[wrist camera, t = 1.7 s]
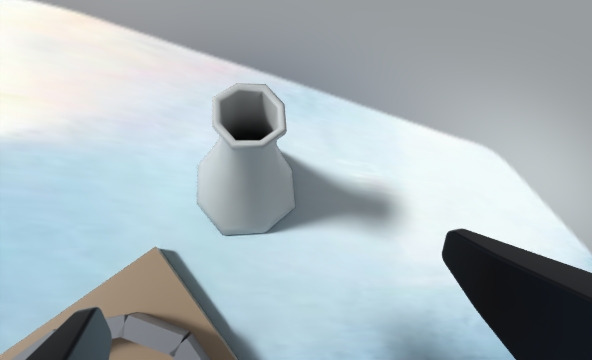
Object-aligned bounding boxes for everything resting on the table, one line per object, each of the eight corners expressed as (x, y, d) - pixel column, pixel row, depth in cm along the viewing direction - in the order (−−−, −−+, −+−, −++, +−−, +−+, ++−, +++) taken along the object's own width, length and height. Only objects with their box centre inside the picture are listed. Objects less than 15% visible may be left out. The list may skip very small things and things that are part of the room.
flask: (273, 132, 24) (294, 31, 14) (310, 215, 22) (360, 162, 13) (181, 159, 22) (136, 63, 12) (214, 253, 20) (188, 224, 11)
